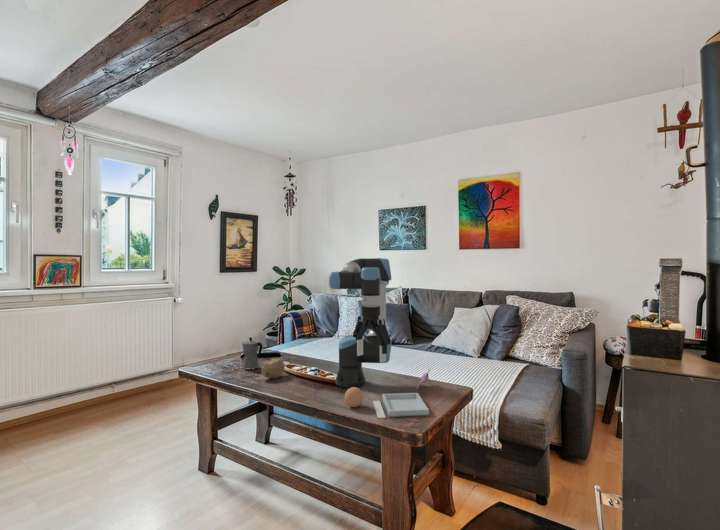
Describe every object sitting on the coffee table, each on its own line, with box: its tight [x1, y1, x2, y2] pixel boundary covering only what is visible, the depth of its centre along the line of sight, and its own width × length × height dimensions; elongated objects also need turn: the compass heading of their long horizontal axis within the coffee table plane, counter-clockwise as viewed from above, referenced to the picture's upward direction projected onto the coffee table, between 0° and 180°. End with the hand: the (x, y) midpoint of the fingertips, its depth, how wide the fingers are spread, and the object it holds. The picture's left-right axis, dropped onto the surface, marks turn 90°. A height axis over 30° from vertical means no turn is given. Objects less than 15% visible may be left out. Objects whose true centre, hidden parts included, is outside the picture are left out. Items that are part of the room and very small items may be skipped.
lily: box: [416, 368, 435, 389], centre depth 182 cm, size 12×12×10 cm
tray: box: [381, 392, 430, 418], centre depth 157 cm, size 20×16×2 cm
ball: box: [344, 387, 365, 408], centre depth 157 cm, size 8×8×8 cm
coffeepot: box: [241, 336, 264, 369], centre depth 218 cm, size 15×9×18 cm, turn 62°
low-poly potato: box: [260, 357, 286, 379], centre depth 199 cm, size 15×11×12 cm
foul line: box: [372, 400, 387, 419], centre depth 154 cm, size 18×3×1 cm, turn 4°
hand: (371, 358), depth 150 cm, fingers open, 13 cm apart
